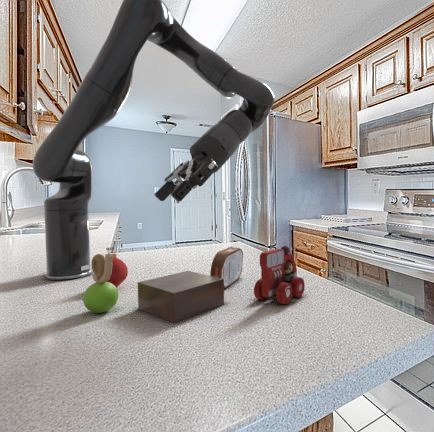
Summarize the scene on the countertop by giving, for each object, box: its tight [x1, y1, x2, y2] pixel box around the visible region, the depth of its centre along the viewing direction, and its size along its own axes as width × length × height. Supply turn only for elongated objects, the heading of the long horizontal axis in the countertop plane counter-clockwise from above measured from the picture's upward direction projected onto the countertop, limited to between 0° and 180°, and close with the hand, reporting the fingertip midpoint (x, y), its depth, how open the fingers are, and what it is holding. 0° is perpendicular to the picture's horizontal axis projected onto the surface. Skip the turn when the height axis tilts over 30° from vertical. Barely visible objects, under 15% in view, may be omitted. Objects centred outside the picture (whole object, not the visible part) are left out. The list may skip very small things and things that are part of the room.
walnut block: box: [137, 270, 225, 324], centre depth 58 cm, size 11×11×5 cm
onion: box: [107, 252, 129, 289], centre depth 69 cm, size 6×6×8 cm
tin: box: [209, 246, 244, 289], centre depth 73 cm, size 15×3×8 cm, turn 169°
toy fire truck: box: [253, 245, 306, 305], centre depth 63 cm, size 7×12×10 cm, turn 149°
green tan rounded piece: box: [82, 246, 119, 314], centre depth 54 cm, size 5×6×12 cm
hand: (166, 198), depth 62 cm, fingers open, 8 cm apart
